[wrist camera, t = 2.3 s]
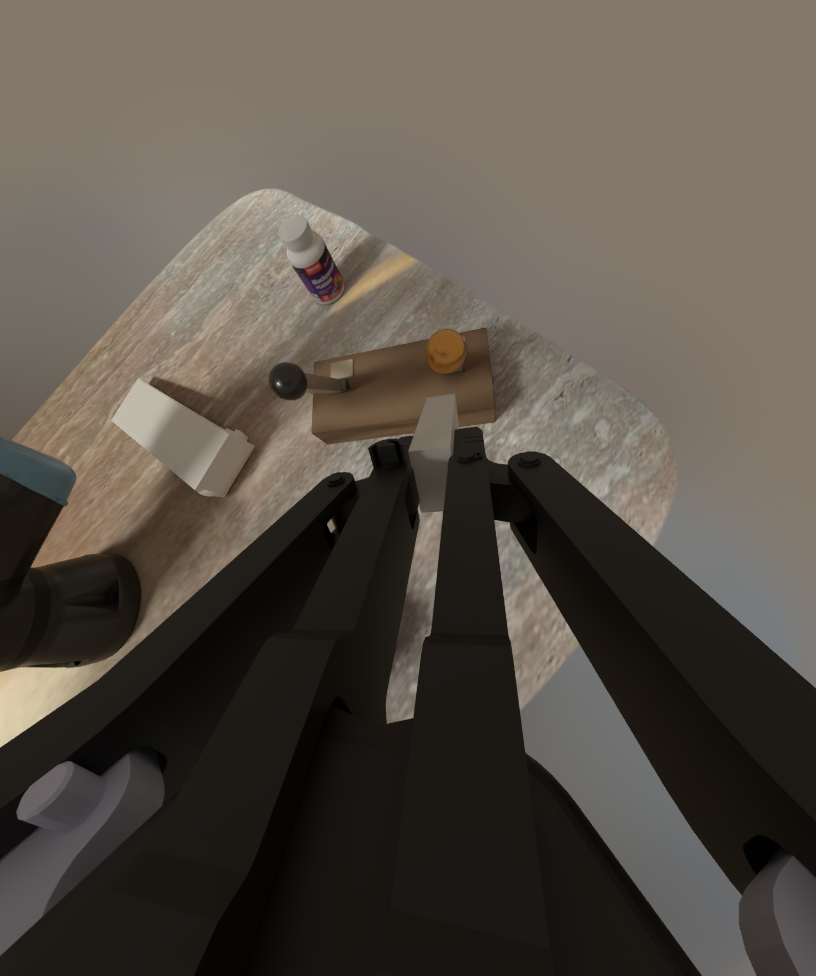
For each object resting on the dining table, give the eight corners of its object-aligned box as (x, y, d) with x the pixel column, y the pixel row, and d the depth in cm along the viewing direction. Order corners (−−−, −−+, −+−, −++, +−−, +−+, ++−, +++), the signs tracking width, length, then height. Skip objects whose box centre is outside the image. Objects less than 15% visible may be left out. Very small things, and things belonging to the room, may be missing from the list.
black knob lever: (354, 398, 38) (299, 397, 26) (331, 402, 39) (266, 403, 26) (349, 371, 37) (290, 356, 25) (325, 375, 38) (256, 364, 26)
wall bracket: (160, 437, 58) (244, 502, 46) (108, 429, 52) (191, 501, 39) (174, 386, 56) (265, 438, 44) (123, 371, 50) (213, 428, 38)
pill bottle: (329, 311, 47) (290, 251, 38) (307, 297, 49) (265, 236, 39) (352, 284, 47) (319, 218, 38) (330, 271, 49) (293, 204, 39)
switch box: (494, 422, 37) (494, 406, 33) (327, 444, 42) (310, 432, 38) (486, 349, 39) (486, 326, 35) (329, 378, 44) (313, 361, 40)
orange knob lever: (469, 379, 35) (468, 367, 23) (441, 383, 35) (425, 375, 23) (466, 349, 34) (463, 320, 22) (438, 354, 35) (419, 329, 23)
